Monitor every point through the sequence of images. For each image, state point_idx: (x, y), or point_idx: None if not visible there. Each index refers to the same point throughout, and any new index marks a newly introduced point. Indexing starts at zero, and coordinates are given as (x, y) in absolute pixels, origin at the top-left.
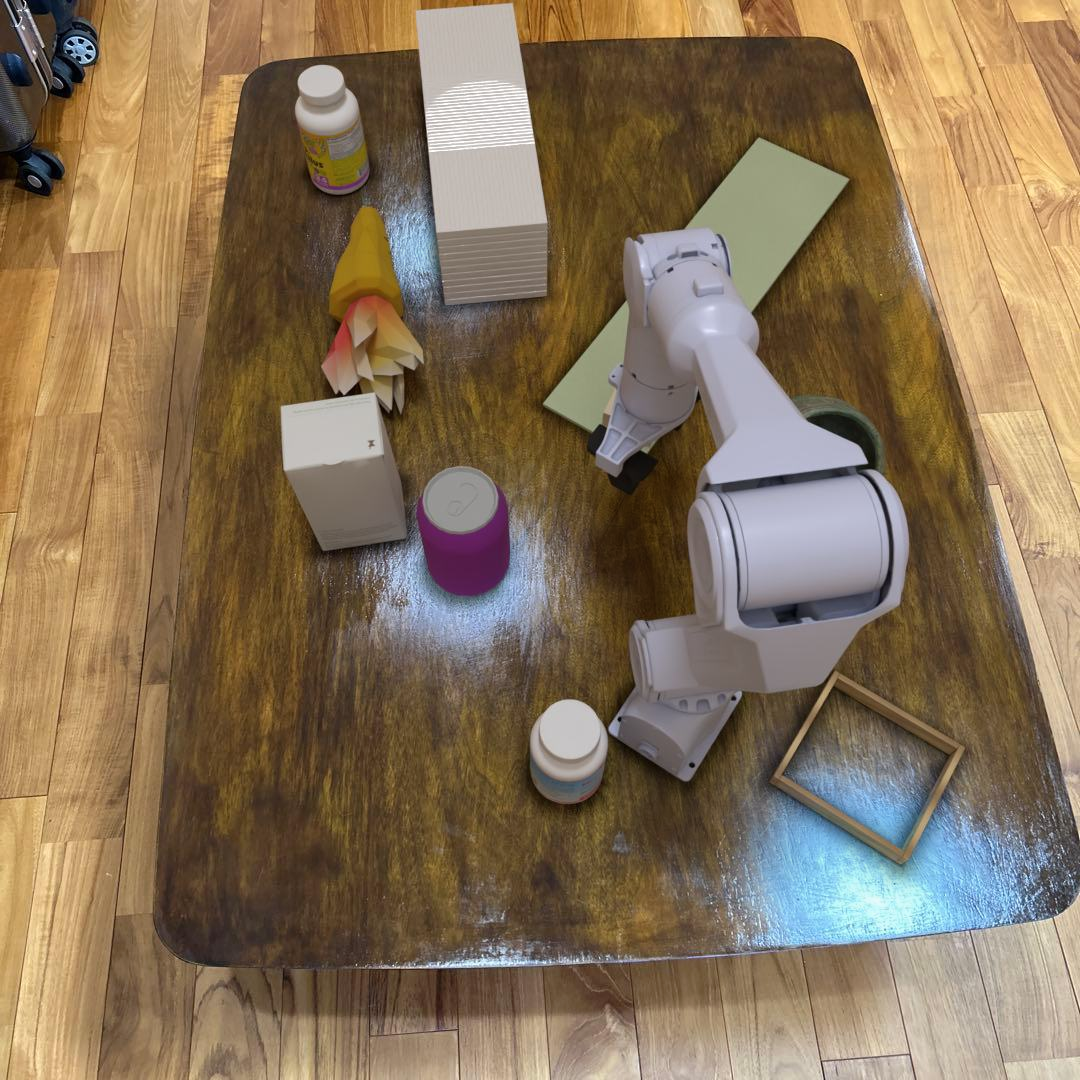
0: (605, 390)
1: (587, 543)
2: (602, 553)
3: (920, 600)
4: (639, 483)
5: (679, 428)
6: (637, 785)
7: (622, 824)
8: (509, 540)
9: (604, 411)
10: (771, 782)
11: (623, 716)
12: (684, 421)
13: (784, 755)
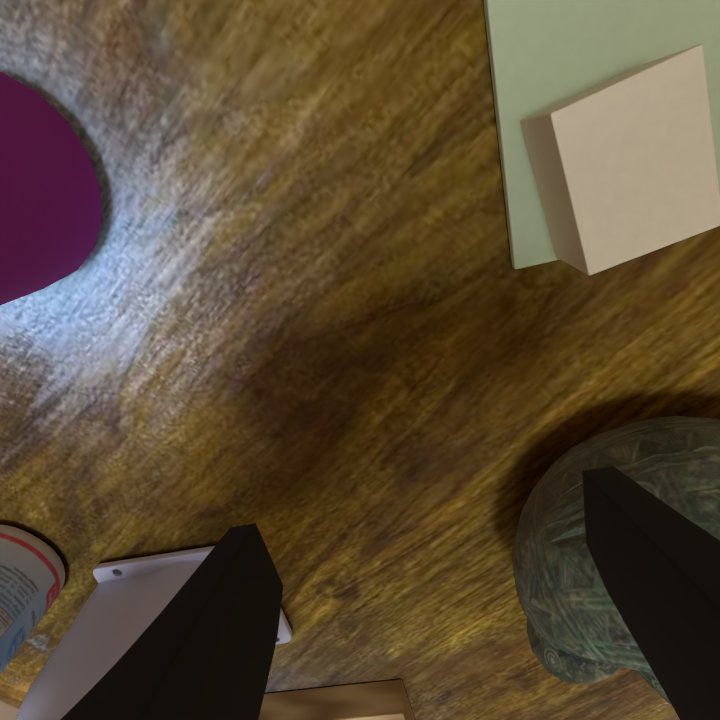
0: (648, 8)
1: (270, 330)
2: (280, 365)
3: (585, 692)
4: (272, 656)
5: (597, 569)
6: None
7: (53, 632)
8: (32, 272)
9: (556, 114)
10: None
11: (23, 700)
12: (631, 632)
13: (278, 695)
